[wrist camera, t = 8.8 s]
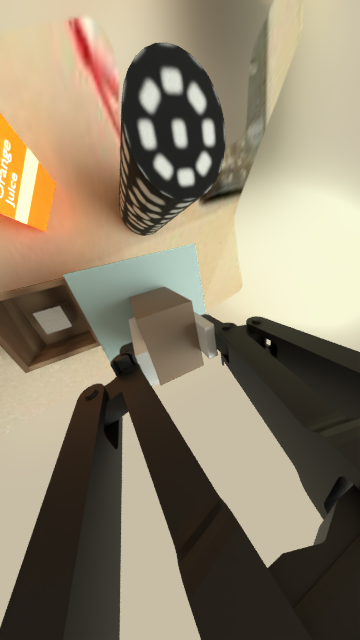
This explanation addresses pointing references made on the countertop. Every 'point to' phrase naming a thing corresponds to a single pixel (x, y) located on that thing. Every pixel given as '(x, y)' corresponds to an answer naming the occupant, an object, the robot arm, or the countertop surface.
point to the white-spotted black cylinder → (167, 137)
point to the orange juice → (23, 181)
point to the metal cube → (55, 317)
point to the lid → (146, 306)
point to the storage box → (28, 335)
